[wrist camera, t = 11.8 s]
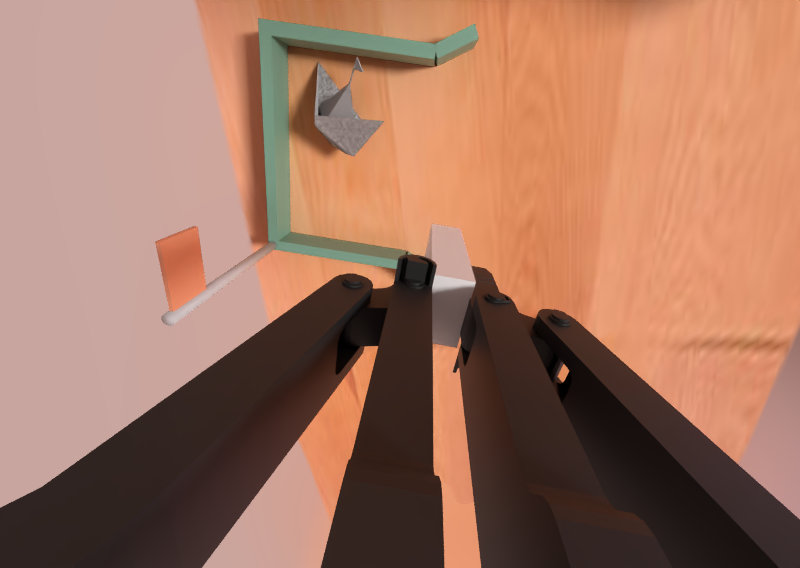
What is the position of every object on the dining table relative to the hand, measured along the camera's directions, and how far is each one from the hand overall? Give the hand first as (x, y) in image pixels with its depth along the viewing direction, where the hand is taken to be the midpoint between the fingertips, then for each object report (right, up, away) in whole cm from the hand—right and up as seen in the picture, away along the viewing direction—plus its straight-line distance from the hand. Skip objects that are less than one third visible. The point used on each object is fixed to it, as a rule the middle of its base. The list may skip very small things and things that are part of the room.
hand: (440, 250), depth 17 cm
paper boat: (-8, +18, +20) cm, 28 cm away
